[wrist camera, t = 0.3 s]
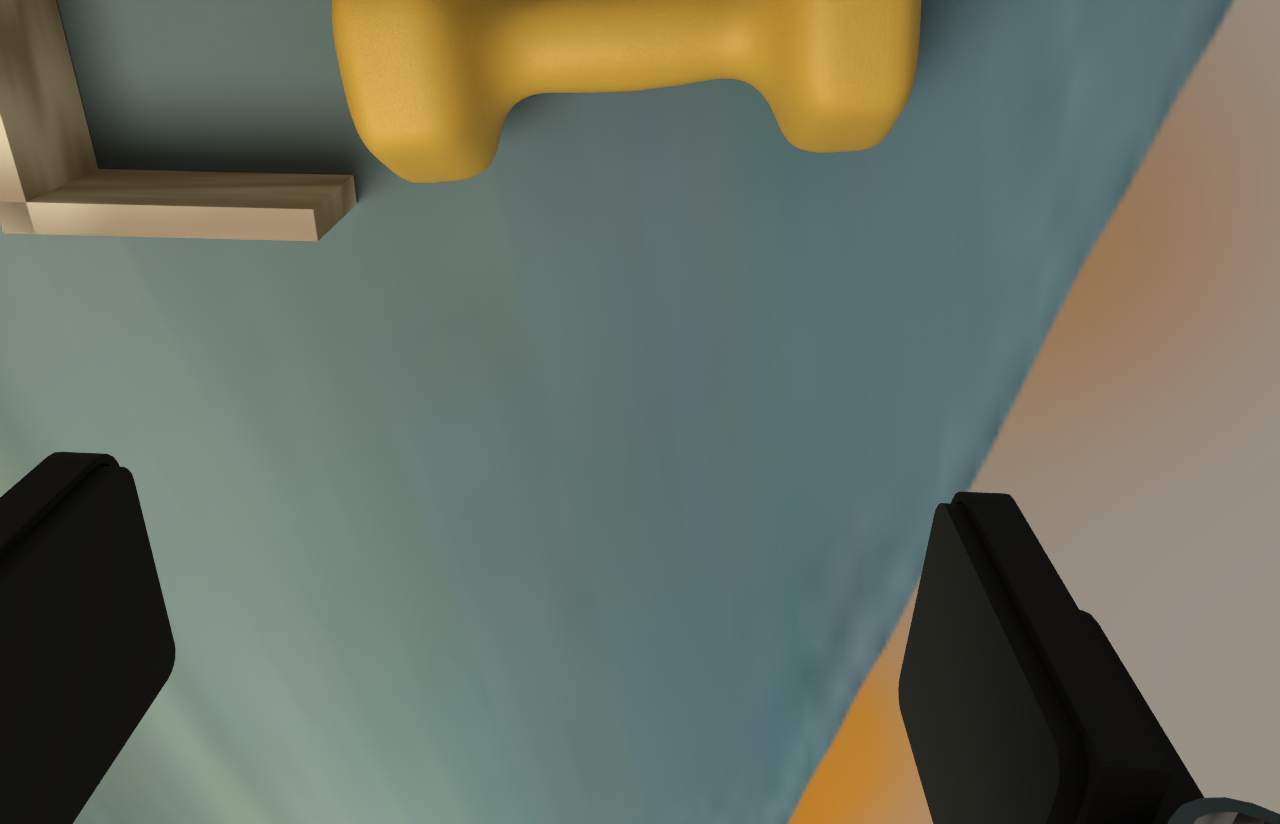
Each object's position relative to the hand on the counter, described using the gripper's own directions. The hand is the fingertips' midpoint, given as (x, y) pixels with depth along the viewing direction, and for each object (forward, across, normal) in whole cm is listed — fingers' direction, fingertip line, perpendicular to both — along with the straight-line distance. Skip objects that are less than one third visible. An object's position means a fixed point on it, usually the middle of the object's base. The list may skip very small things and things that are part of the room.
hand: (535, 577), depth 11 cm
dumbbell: (+30, 0, -3) cm, 30 cm away
